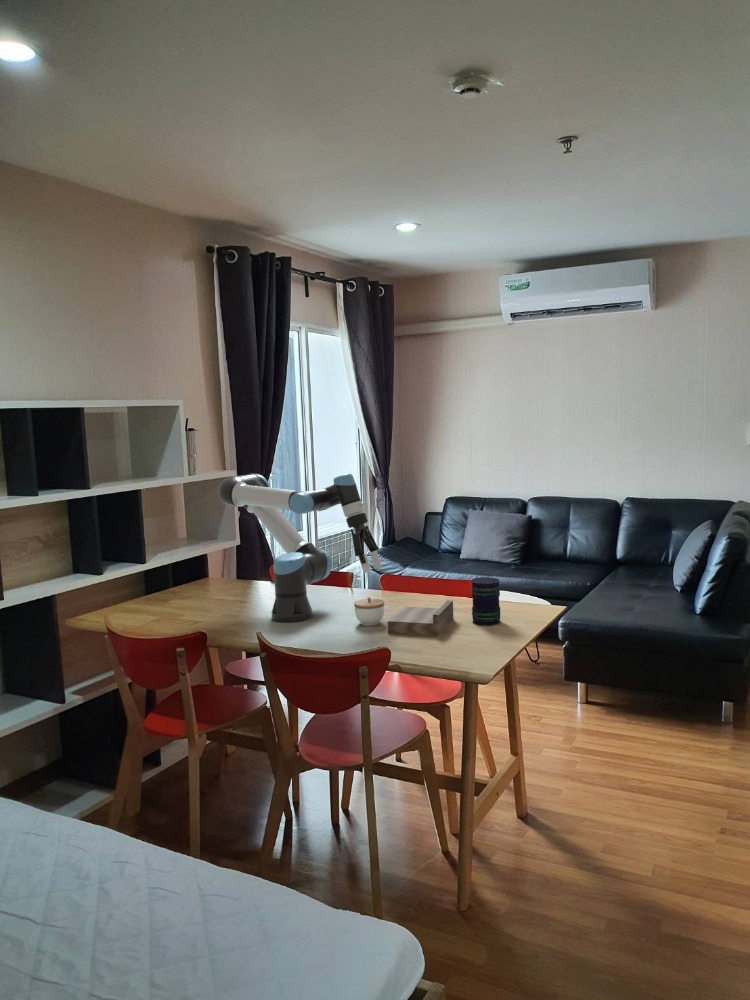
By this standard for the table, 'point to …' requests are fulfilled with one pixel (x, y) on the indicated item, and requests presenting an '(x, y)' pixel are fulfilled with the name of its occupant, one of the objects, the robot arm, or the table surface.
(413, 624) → the riser block
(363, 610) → the lidded jar
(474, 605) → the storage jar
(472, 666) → the table surface
